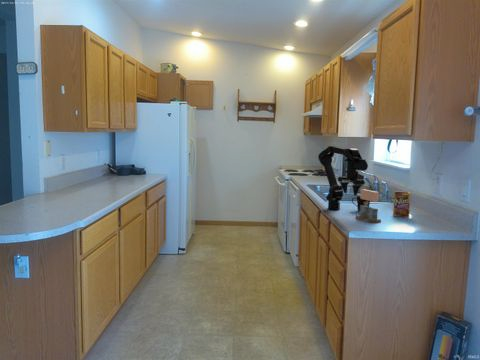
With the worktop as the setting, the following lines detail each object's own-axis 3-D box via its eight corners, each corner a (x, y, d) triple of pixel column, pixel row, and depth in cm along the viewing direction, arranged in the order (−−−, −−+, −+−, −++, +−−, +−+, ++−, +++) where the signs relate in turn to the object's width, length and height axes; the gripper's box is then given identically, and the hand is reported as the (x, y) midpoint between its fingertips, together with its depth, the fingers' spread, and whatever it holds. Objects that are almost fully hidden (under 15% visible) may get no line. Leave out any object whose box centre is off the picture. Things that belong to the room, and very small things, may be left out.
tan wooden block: (360, 198, 225) (360, 189, 224) (363, 198, 226) (364, 189, 225) (374, 202, 214) (375, 192, 213) (378, 201, 215) (378, 192, 214)
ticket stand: (355, 218, 226) (356, 205, 225) (364, 217, 229) (365, 204, 228) (370, 223, 214) (371, 209, 213) (380, 222, 217) (381, 209, 216)
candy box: (392, 216, 233) (394, 191, 232) (393, 214, 237) (395, 190, 235) (408, 217, 229) (410, 192, 227) (409, 216, 233) (411, 191, 231)
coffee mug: (369, 210, 251) (370, 194, 249) (370, 212, 242) (371, 197, 241) (351, 208, 254) (351, 193, 253) (351, 211, 246) (352, 195, 244)
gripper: (372, 170, 229) (371, 196, 231) (352, 167, 246) (351, 191, 248) (357, 170, 225) (356, 197, 227) (337, 168, 242) (336, 192, 244)
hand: (350, 194), depth 237 cm, fingers open, 9 cm apart
